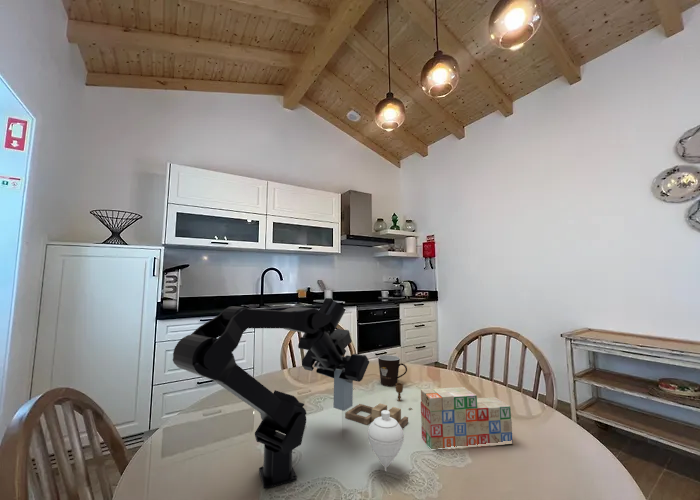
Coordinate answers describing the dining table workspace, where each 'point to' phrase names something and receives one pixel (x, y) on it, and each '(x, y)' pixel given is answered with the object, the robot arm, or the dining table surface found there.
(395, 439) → the spinning top
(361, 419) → the rack
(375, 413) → the oak offcut
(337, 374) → the batten
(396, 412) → the oak offcut
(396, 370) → the coffee mug
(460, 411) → the stack of blocks
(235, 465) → the dining table surface
